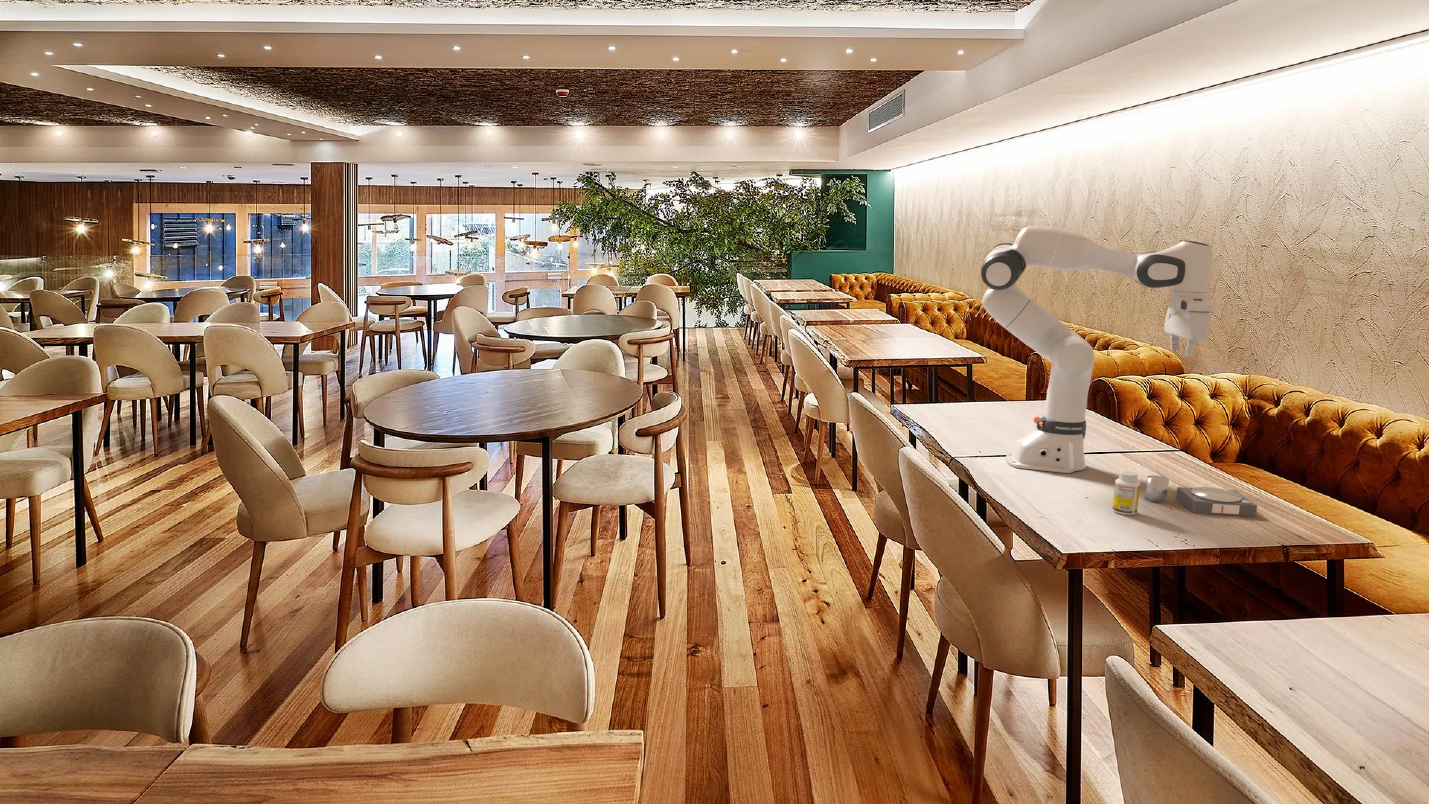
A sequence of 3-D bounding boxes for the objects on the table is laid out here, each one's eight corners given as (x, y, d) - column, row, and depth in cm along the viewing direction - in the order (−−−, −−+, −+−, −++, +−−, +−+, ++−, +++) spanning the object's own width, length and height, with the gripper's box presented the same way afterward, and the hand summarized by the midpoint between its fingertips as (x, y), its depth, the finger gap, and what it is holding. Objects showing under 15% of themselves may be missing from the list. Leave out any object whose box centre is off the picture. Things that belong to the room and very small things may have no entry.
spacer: (1148, 502, 210) (1150, 480, 209) (1141, 496, 215) (1144, 474, 213) (1169, 503, 209) (1171, 481, 208) (1162, 497, 214) (1165, 476, 212)
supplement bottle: (1126, 508, 205) (1131, 469, 203) (1141, 515, 200) (1146, 475, 198) (1107, 509, 204) (1111, 470, 202) (1121, 516, 199) (1126, 476, 197)
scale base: (1194, 513, 201) (1196, 501, 201) (1175, 497, 214) (1177, 485, 213) (1256, 517, 199) (1258, 504, 198) (1234, 501, 211) (1235, 489, 210)
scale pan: (1201, 501, 202) (1201, 498, 201) (1184, 487, 212) (1184, 485, 212) (1249, 504, 200) (1249, 501, 200) (1230, 490, 210) (1230, 488, 210)
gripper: (1161, 299, 228) (1155, 347, 231) (1191, 305, 209) (1183, 358, 211) (1185, 299, 227) (1178, 348, 230) (1217, 305, 208) (1209, 359, 210)
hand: (1181, 353), depth 221 cm, fingers open, 8 cm apart
